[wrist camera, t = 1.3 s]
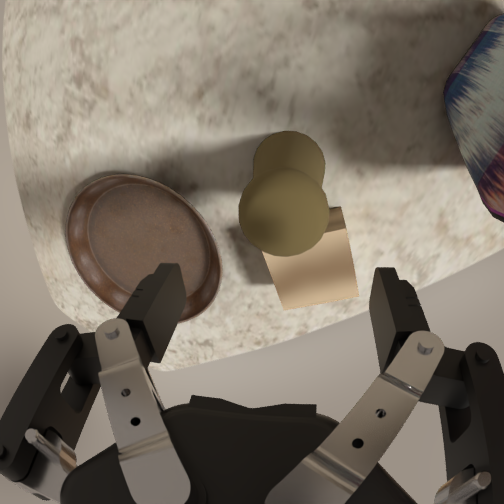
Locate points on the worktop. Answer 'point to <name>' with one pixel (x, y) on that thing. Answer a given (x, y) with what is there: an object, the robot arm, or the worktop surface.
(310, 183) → the olive green pawn
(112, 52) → the worktop surface
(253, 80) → the worktop surface
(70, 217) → the plant saucer
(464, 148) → the handbag
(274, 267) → the oak base block
